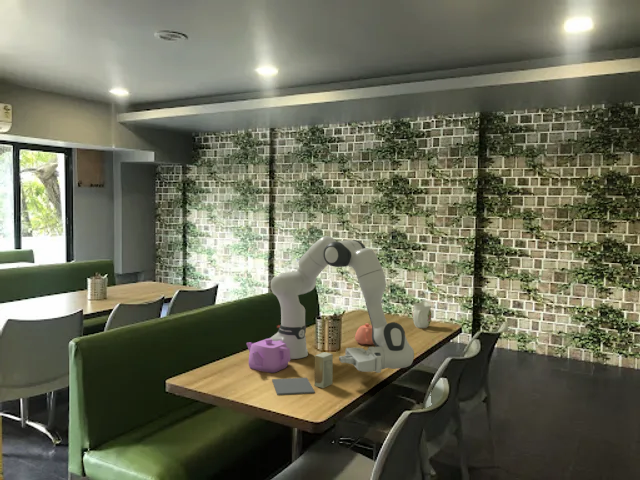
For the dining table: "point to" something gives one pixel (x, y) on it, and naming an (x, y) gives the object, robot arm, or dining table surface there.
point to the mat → (292, 386)
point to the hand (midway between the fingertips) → (339, 359)
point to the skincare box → (323, 369)
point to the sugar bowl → (364, 334)
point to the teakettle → (268, 355)
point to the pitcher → (421, 314)
